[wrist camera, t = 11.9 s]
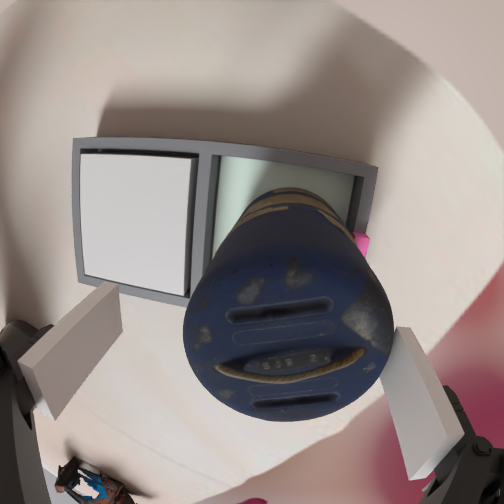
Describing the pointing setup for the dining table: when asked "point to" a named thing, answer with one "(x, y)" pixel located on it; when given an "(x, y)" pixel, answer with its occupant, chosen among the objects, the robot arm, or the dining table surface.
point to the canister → (288, 313)
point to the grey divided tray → (188, 205)
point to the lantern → (110, 493)
